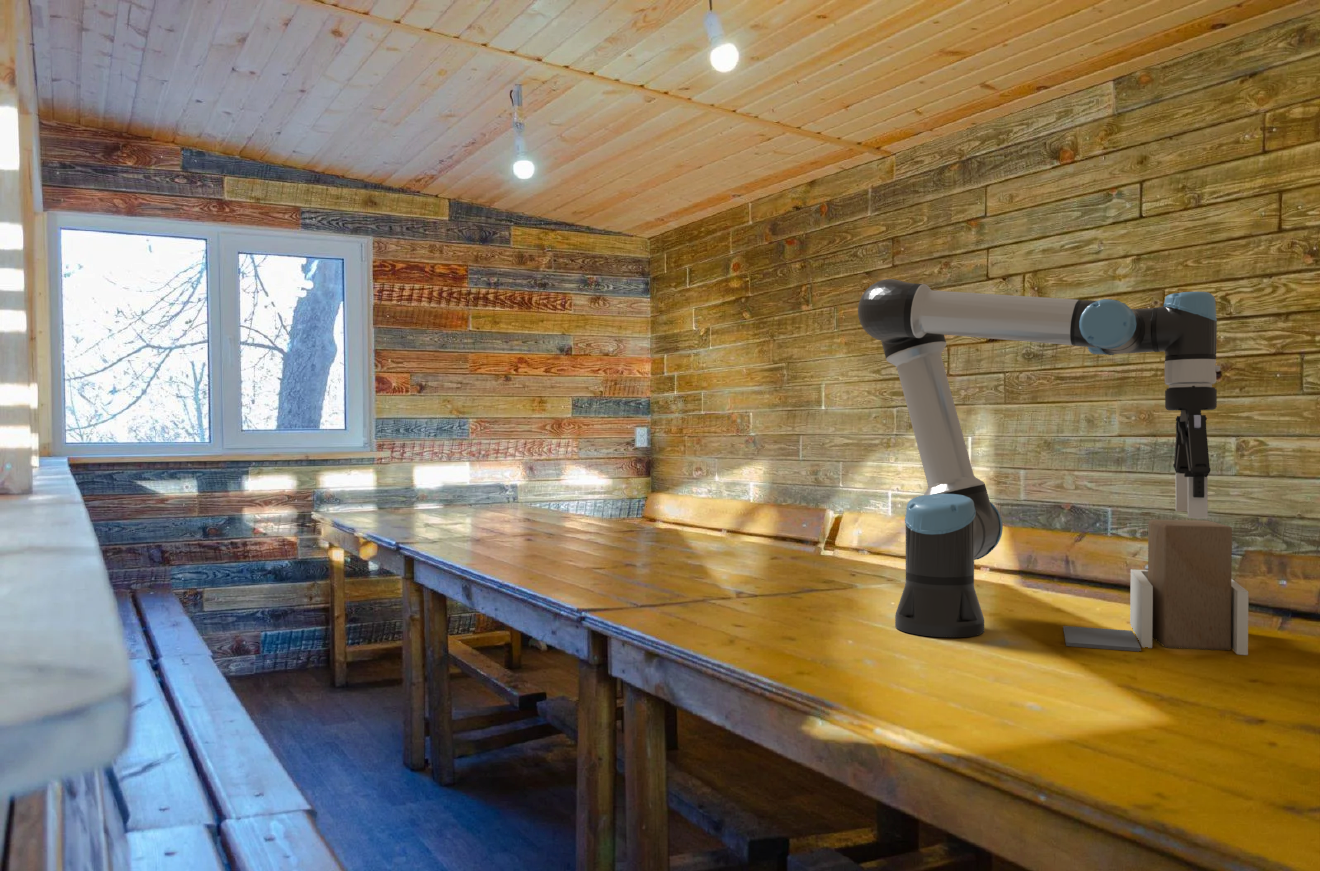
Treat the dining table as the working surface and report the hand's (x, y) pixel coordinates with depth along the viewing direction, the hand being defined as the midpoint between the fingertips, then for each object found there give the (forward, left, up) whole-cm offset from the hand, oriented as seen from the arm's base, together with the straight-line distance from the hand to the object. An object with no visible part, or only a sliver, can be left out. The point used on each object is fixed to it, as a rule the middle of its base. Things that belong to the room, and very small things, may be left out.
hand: (1190, 514), depth 162 cm
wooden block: (0, 0, -22) cm, 22 cm away
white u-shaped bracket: (0, +3, -21) cm, 21 cm away
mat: (-14, -3, -21) cm, 25 cm away
